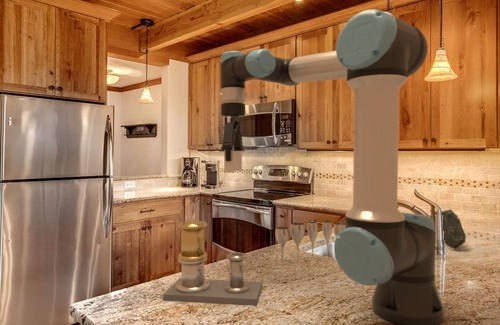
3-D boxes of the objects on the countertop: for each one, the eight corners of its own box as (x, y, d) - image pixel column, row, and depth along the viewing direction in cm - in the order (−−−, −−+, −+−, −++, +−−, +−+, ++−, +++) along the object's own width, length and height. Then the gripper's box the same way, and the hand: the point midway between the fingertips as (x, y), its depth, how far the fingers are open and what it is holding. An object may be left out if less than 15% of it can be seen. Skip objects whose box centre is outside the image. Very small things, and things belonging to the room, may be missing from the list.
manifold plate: (262, 287, 98) (262, 282, 98) (256, 305, 86) (256, 299, 86) (179, 283, 102) (179, 278, 102) (163, 300, 90) (162, 294, 90)
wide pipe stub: (213, 281, 99) (213, 253, 98) (204, 294, 90) (204, 262, 90) (182, 280, 100) (182, 252, 100) (170, 292, 91) (170, 261, 91)
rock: (443, 249, 148) (433, 216, 152) (459, 247, 146) (448, 213, 151) (452, 247, 132) (441, 209, 136) (470, 244, 130) (458, 206, 135)
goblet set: (278, 265, 118) (278, 226, 117) (273, 260, 123) (272, 223, 123) (353, 258, 125) (353, 221, 125) (344, 254, 131) (344, 218, 131)
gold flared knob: (210, 253, 98) (210, 221, 98) (202, 261, 90) (202, 226, 90) (183, 252, 99) (183, 220, 99) (173, 260, 91) (174, 225, 91)
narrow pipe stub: (250, 285, 96) (250, 252, 96) (246, 294, 89) (246, 258, 89) (227, 284, 97) (227, 251, 96) (222, 292, 90) (221, 257, 90)
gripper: (229, 109, 123) (230, 170, 123) (210, 97, 98) (211, 173, 98) (251, 108, 121) (251, 170, 122) (237, 96, 97) (238, 173, 97)
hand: (233, 171), depth 110 cm, fingers open, 13 cm apart
